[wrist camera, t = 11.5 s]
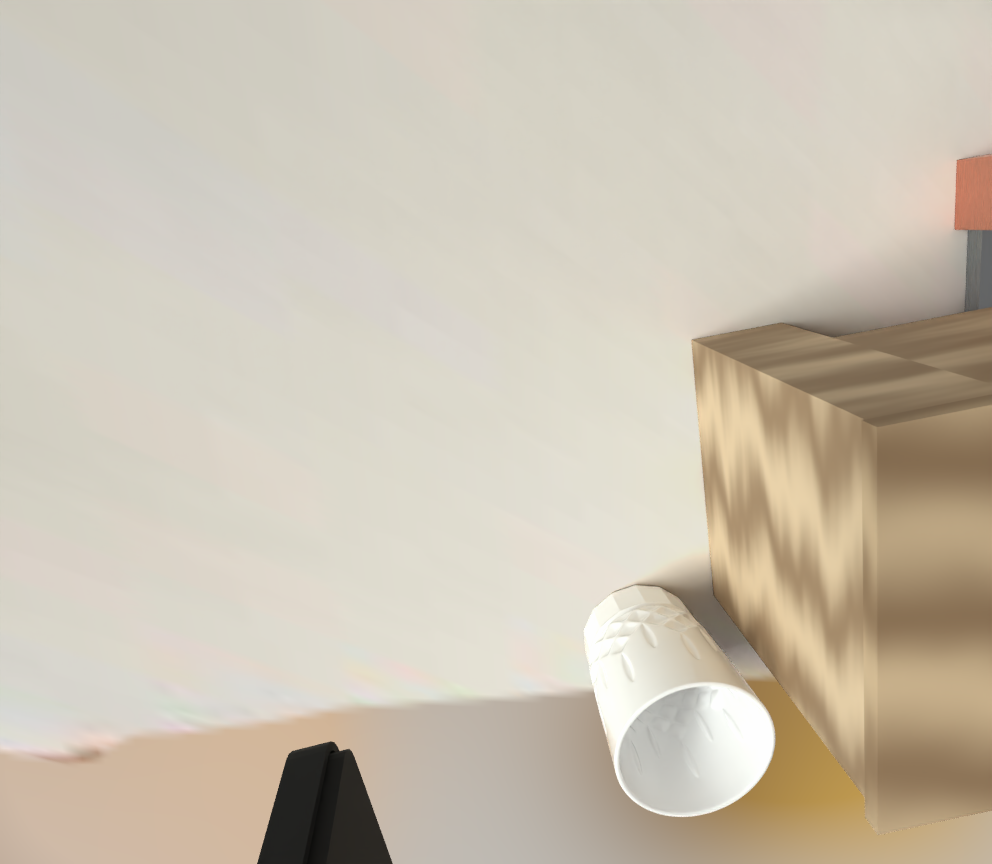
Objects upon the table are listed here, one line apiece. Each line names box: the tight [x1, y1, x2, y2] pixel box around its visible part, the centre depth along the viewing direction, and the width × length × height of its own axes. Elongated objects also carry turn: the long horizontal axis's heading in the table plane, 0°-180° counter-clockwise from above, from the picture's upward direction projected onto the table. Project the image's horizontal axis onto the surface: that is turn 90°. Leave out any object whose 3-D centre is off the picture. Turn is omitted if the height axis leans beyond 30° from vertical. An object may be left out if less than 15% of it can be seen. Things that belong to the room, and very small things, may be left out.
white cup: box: [584, 585, 775, 817], centre depth 37 cm, size 8×8×10 cm
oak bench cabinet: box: [692, 307, 992, 835], centre depth 31 cm, size 16×14×17 cm
